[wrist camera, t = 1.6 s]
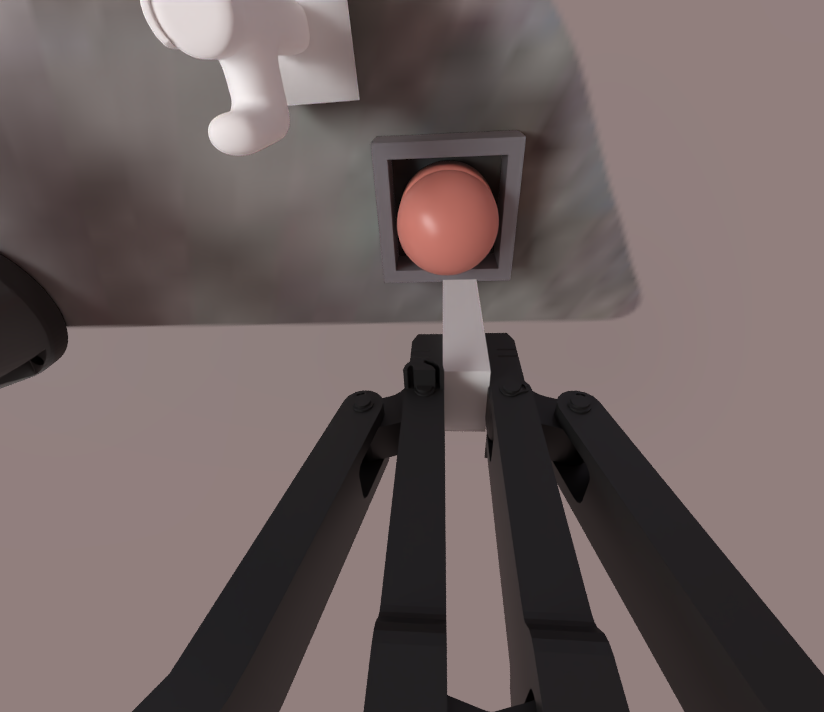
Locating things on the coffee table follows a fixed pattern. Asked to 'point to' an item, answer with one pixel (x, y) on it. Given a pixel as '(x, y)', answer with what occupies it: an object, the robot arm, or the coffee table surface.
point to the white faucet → (263, 59)
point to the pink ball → (447, 218)
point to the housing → (449, 146)
